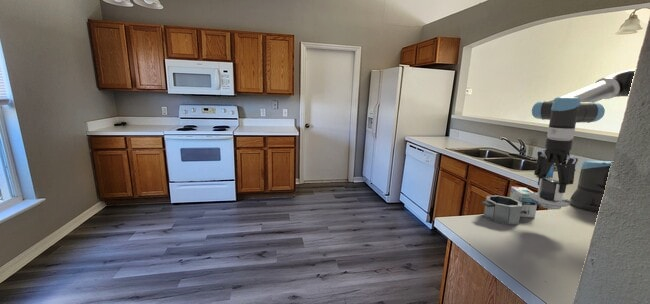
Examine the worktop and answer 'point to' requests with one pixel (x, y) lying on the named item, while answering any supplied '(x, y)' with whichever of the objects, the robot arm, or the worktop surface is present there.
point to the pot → (502, 209)
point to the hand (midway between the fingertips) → (549, 196)
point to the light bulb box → (523, 196)
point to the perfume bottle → (550, 172)
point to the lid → (548, 196)
